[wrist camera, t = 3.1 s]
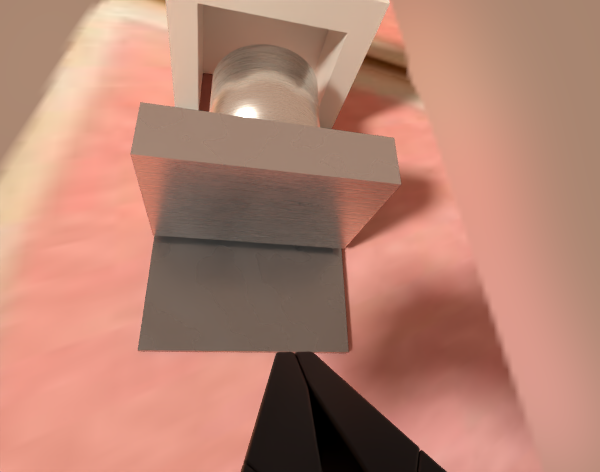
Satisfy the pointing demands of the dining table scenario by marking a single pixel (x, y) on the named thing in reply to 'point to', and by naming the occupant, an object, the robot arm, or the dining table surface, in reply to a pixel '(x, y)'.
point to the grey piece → (260, 160)
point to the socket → (273, 40)
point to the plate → (243, 298)
